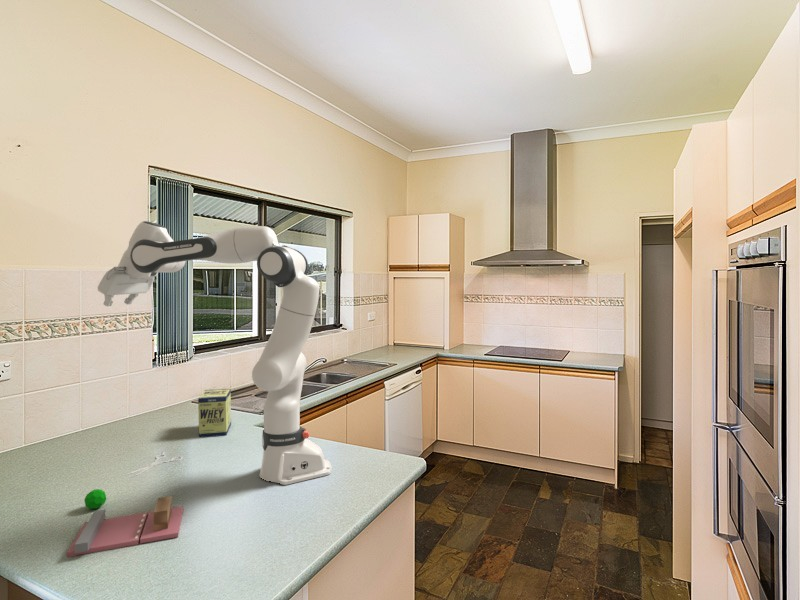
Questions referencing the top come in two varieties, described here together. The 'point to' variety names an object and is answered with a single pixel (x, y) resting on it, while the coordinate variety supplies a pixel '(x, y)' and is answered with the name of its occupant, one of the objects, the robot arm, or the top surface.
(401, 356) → the top surface
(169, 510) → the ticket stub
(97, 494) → the polyhedron
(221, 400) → the protein box
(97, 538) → the ticket
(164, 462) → the scissors
